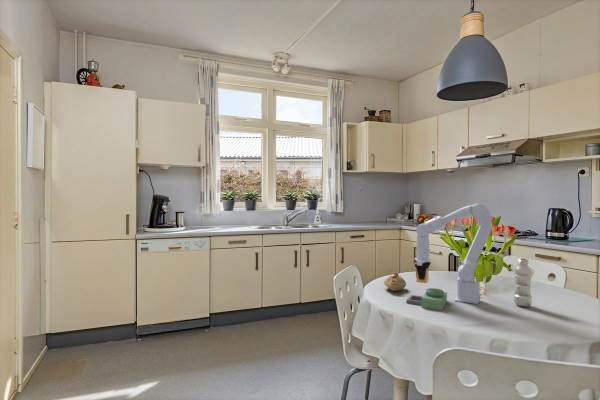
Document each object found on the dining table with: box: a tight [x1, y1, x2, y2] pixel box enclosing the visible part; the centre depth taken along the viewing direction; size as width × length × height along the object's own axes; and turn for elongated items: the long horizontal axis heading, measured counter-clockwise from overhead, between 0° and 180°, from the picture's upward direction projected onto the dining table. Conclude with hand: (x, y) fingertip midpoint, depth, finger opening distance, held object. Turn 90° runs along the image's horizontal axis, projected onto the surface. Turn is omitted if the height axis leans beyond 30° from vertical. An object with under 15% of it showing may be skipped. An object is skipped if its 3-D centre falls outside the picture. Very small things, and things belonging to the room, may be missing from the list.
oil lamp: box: [383, 271, 407, 292], centre depth 179 cm, size 11×15×8 cm
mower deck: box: [405, 287, 448, 311], centre depth 158 cm, size 15×14×6 cm
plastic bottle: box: [513, 258, 533, 308], centre depth 153 cm, size 6×7×20 cm
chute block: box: [415, 268, 430, 284], centre depth 168 cm, size 5×4×6 cm
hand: (422, 278), depth 168 cm, fingers closed on chute block, 4 cm apart
